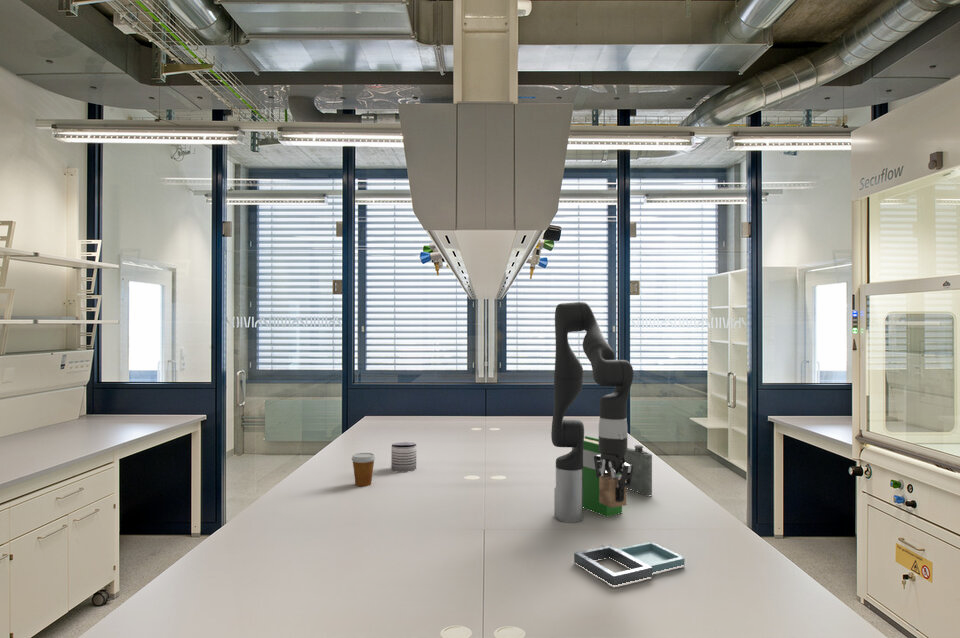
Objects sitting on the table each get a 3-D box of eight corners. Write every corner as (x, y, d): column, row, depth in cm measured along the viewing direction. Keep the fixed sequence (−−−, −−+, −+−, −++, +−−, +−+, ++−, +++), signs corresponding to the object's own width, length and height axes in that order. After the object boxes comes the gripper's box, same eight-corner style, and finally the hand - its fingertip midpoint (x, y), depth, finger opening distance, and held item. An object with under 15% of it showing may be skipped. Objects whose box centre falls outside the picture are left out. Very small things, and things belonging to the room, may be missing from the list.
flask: (629, 486, 237) (629, 442, 237) (655, 495, 224) (655, 448, 225) (622, 487, 235) (622, 442, 235) (647, 496, 223) (647, 449, 223)
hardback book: (571, 503, 214) (571, 438, 214) (586, 500, 218) (586, 436, 218) (606, 517, 199) (606, 446, 199) (622, 513, 203) (622, 444, 203)
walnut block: (599, 502, 157) (599, 476, 157) (614, 499, 159) (614, 474, 159) (611, 507, 153) (611, 480, 153) (626, 505, 155) (626, 478, 155)
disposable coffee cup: (372, 487, 234) (372, 457, 234) (348, 487, 234) (349, 457, 234) (377, 481, 243) (377, 452, 243) (354, 481, 243) (354, 452, 244)
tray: (614, 557, 164) (614, 548, 164) (651, 549, 170) (651, 541, 170) (647, 576, 152) (647, 566, 152) (686, 567, 158) (686, 557, 158)
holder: (574, 563, 160) (574, 552, 160) (610, 555, 166) (610, 545, 166) (613, 588, 145) (613, 576, 145) (652, 579, 151) (652, 567, 151)
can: (386, 471, 260) (386, 444, 260) (397, 465, 271) (397, 439, 271) (410, 473, 257) (410, 445, 257) (420, 467, 268) (420, 441, 268)
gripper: (585, 431, 161) (585, 493, 161) (619, 440, 148) (619, 508, 148) (607, 429, 164) (607, 489, 164) (642, 438, 151) (642, 504, 151)
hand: (612, 498), depth 156 cm, fingers closed on walnut block, 5 cm apart
